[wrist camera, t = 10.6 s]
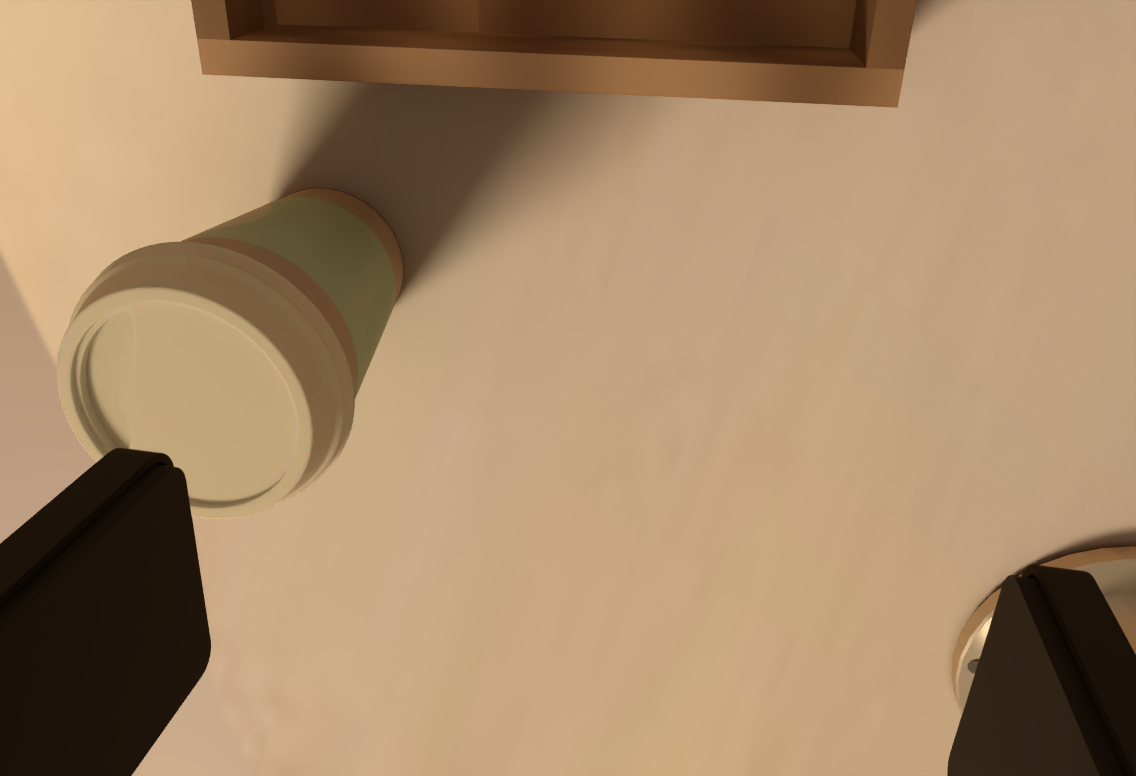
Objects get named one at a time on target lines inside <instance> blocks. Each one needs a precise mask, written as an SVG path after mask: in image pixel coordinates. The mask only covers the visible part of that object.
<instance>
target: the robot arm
mask: <svg viewBox="0 0 1136 776" xmlns="http://www.w3.org/2000/svg"><path fill="white" fill-rule="evenodd" d="M210 652H211V640H210V633H209V627H208V620H207V613H206V607H205V600H204V594H203V587H202V581H201V574H200V567H199V561H198V554H197V548H196V541H195V534H194V528H193V521H192V515H191V508H190V501H189V495H188V488H187V482H186V477H185V474H184V472H183V471H182V469H180V468H178V467H174V464H173V462H172V460H171V459H170V457H169V456H168V455H166V454H164V453H158V452H151V451H143V450H135V449H127V448H115V449H113V450H112V451H110V452H108V453H107V454H106V455H105V456H104V457H102V458H101V459H100V460H99V461H98V462H96V463H95V464H94V465H93V466H92V467H91V468H89V469H88V470H87V471H86V472H85V473H84V474H82V475H81V476H80V477H79V478H78V479H76V480H75V481H74V482H73V483H72V484H70V485H69V486H68V487H67V488H66V489H65V490H64V491H62V492H61V493H60V494H59V495H57V496H56V497H55V498H54V499H53V500H52V501H51V502H50V503H48V504H47V505H46V506H44V507H43V508H42V509H41V510H40V511H39V512H37V513H36V514H35V515H34V516H33V517H31V518H30V519H29V520H28V521H27V522H26V523H24V524H23V525H22V526H21V527H20V528H18V529H17V530H16V531H15V532H14V533H13V534H11V535H10V536H9V537H8V538H7V539H5V540H4V541H3V542H2V543H1V544H0V776H131V775H132V774H133V773H134V771H135V770H136V768H137V767H138V766H139V764H140V763H141V761H142V760H143V759H144V757H145V756H146V754H147V753H148V751H149V750H150V749H151V747H152V746H153V744H154V743H155V741H156V740H157V739H158V737H159V736H160V734H161V733H162V732H163V730H164V729H165V727H166V726H167V724H168V723H169V721H170V720H171V719H172V718H173V716H174V715H175V713H176V712H177V711H178V709H179V707H180V706H181V705H182V703H183V702H184V701H185V699H186V698H187V696H188V695H189V694H190V692H191V691H192V689H193V688H194V687H195V685H196V684H197V682H198V681H199V679H200V678H201V677H202V675H203V673H204V672H205V670H206V667H207V665H208V662H209V658H210ZM951 676H952V682H953V687H954V692H955V696H956V699H957V702H958V705H959V708H960V710H961V713H962V717H961V720H960V723H959V727H958V730H957V733H956V736H955V739H954V743H953V746H952V749H951V752H950V756H949V761H948V776H1136V546H1132V547H1113V548H1100V549H1095V550H1090V551H1085V552H1080V553H1075V554H1070V555H1067V556H1064V557H1061V558H1058V559H1055V560H1052V561H1049V562H1047V563H1044V564H1041V565H1034V564H1032V565H1029V566H1027V567H1026V569H1025V570H1024V571H1023V573H1022V574H1021V575H1019V576H1013V575H1010V576H1008V577H1007V578H1006V579H1005V580H1004V583H1003V585H1002V587H1001V588H1000V589H998V590H997V591H996V592H994V593H993V594H992V595H990V596H989V598H988V599H987V600H986V601H985V602H984V603H983V604H982V605H981V606H980V607H979V608H978V609H977V610H976V611H975V612H974V613H973V614H972V616H971V618H970V619H969V621H968V622H967V624H966V625H965V627H964V629H963V630H962V632H961V633H960V636H959V639H958V641H957V644H956V647H955V650H954V653H953V660H952V672H951Z"/></svg>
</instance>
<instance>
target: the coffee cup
mask: <svg viewBox="0 0 1136 776" xmlns="http://www.w3.org/2000/svg"><path fill="white" fill-rule="evenodd" d="M402 280H403V261H402V255H401V252H400V248H399V245H398V243H397V240H396V238H395V236H394V234H393V233H392V231H391V229H390V228H389V226H388V225H387V224H386V222H385V221H384V220H383V219H382V218H381V217H380V215H379V214H378V213H377V212H376V211H374V210H373V209H372V208H371V207H370V206H368V205H367V204H365V203H364V202H362V201H361V200H359V199H357V198H355V197H353V196H351V195H349V194H346V193H343V192H340V191H336V190H331V189H323V188H315V189H306V190H302V191H298V192H295V193H293V194H291V195H288V196H286V197H283V198H281V199H279V200H276V201H274V202H271V203H269V204H266V205H264V206H262V207H259V208H257V209H255V210H253V211H250V212H248V213H246V214H243V215H241V216H239V217H236V218H234V219H232V220H229V221H227V222H225V223H222V224H220V225H218V226H215V227H213V228H211V229H209V230H206V231H204V232H202V233H199V234H197V235H195V236H192V237H190V238H188V239H185V240H183V241H181V242H168V243H160V244H155V245H150V246H146V247H143V248H140V249H137V250H135V251H132V252H130V253H128V254H126V255H124V256H122V257H121V258H119V259H117V260H116V261H114V262H113V263H112V264H110V265H109V266H108V267H107V268H106V269H105V270H103V271H102V272H101V274H100V275H99V276H98V277H97V278H96V279H95V281H94V282H93V283H92V284H91V285H90V286H89V288H88V289H87V290H86V291H85V293H84V294H83V295H82V297H81V298H80V300H79V302H78V304H77V305H76V307H75V309H74V312H73V314H72V317H71V320H70V324H69V328H68V329H67V331H66V333H65V335H64V337H63V340H62V342H61V345H60V349H59V353H58V359H57V369H56V372H57V386H58V392H59V397H60V401H61V404H62V407H63V410H64V413H65V416H66V418H67V420H68V422H69V424H70V426H71V428H72V430H73V432H74V434H75V435H76V437H77V438H78V440H79V442H80V443H81V445H82V446H83V448H84V449H85V450H86V451H87V453H88V454H89V455H90V456H91V457H92V458H93V460H94V461H95V462H98V461H99V460H100V459H101V458H102V457H104V456H105V455H106V454H107V453H108V452H110V451H112V450H113V449H115V448H127V449H135V450H143V451H151V452H158V453H164V454H166V455H168V456H169V457H170V459H171V460H172V462H173V464H174V467H178V468H180V469H182V471H183V472H184V474H185V477H186V482H187V488H188V495H189V501H190V508H191V515H192V517H199V518H207V519H228V518H238V517H243V516H248V515H251V514H254V513H257V512H260V511H262V510H265V509H267V508H269V507H271V506H273V505H274V504H276V503H277V502H280V501H283V500H285V499H288V498H290V497H292V496H294V495H296V494H298V493H300V492H301V491H303V490H304V489H306V488H307V487H308V486H310V485H311V484H312V483H313V482H314V481H315V480H316V479H317V478H319V477H320V476H321V475H322V474H323V473H325V472H326V471H327V470H328V469H329V468H330V467H331V465H332V464H333V463H334V462H335V461H336V459H337V458H338V456H339V455H340V453H341V452H342V450H343V448H344V446H345V444H346V442H347V439H348V437H349V434H350V431H351V427H352V423H353V417H354V405H355V398H356V395H357V393H358V391H359V388H360V386H361V383H362V381H363V379H364V376H365V374H366V372H367V369H368V367H369V365H370V362H371V360H372V357H373V355H374V353H375V350H376V348H377V346H378V343H379V341H380V338H381V336H382V334H383V331H384V329H385V327H386V324H387V322H388V319H389V317H390V315H391V312H392V309H393V307H394V305H395V302H396V300H397V297H398V295H399V292H400V289H401V285H402Z"/></svg>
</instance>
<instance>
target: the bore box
mask: <svg viewBox="0 0 1136 776" xmlns="http://www.w3.org/2000/svg"><path fill="white" fill-rule="evenodd" d="M191 2H192V8H193V15H194V21H195V28H196V35H197V41H198V48H199V54H200V61H201V67H202V74H207V75H227V76H248V77H269V78H290V79H311V80H332V81H353V82H374V83H395V84H416V85H437V86H458V87H479V88H500V89H521V90H542V91H563V92H584V93H605V94H626V95H646V96H667V97H688V98H709V99H730V100H751V101H772V102H793V103H814V104H835V105H856V106H877V107H898V102H899V96H900V90H901V85H902V79H903V74H904V68H905V63H906V57H907V52H908V46H909V41H910V35H911V30H912V24H913V18H914V13H915V7H916V2H917V0H191Z"/></svg>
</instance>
